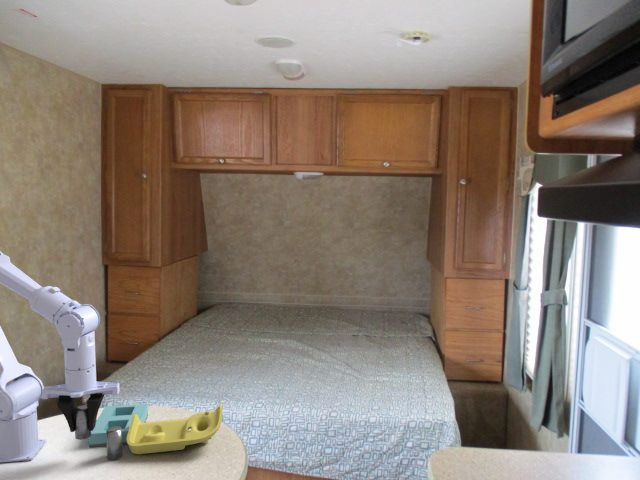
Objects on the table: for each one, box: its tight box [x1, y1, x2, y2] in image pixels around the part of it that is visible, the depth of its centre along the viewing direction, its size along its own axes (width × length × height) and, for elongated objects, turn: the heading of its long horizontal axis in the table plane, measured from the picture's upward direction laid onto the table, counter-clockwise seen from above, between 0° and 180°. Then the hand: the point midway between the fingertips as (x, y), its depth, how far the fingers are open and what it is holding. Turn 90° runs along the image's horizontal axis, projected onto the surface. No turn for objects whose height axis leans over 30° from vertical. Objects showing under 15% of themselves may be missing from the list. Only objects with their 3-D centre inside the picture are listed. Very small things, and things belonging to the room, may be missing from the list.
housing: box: [88, 403, 149, 448], centre depth 116 cm, size 10×14×3 cm
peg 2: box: [106, 426, 124, 462], centre depth 105 cm, size 3×3×6 cm
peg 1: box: [74, 404, 91, 441], centre depth 103 cm, size 3×3×6 cm
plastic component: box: [127, 404, 223, 455], centre depth 110 cm, size 20×7×10 cm
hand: (83, 429), depth 103 cm, fingers closed on peg 1, 3 cm apart
